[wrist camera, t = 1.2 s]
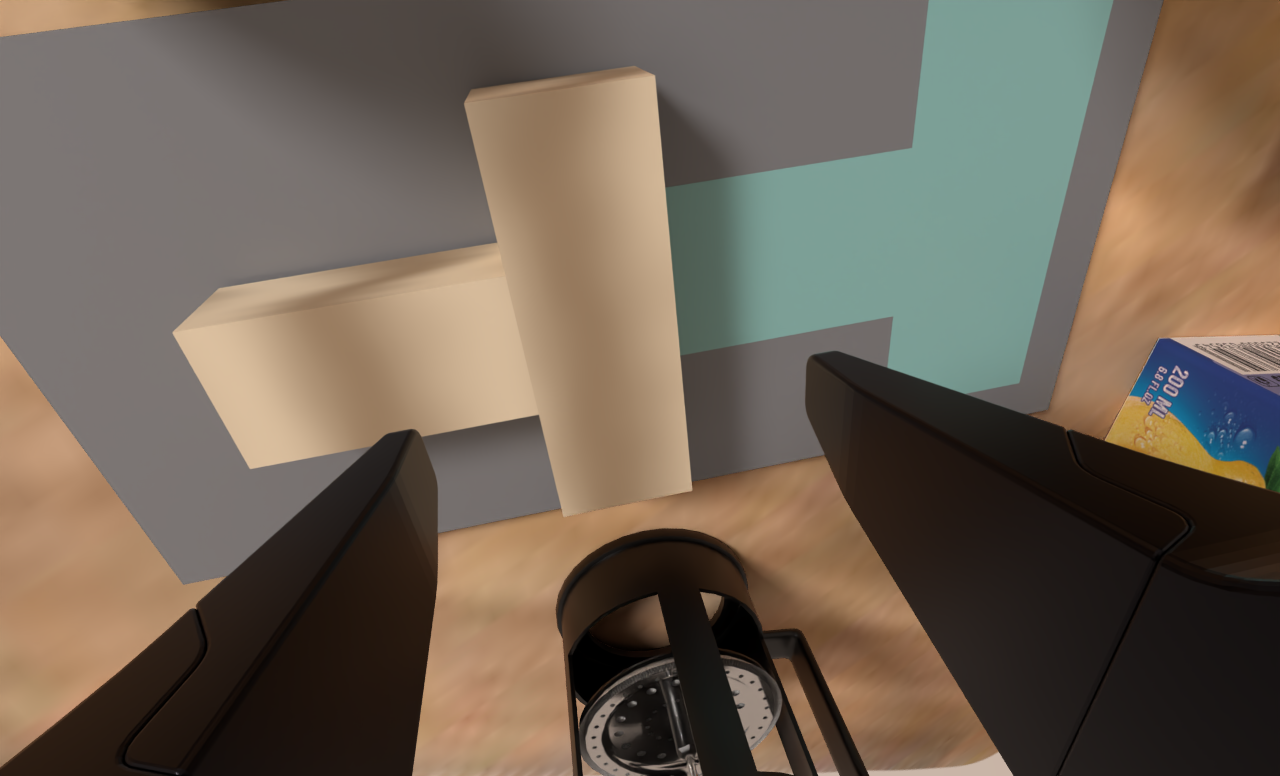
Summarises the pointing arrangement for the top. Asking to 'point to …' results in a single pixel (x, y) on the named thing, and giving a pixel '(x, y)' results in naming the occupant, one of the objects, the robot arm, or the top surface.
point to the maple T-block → (488, 311)
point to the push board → (460, 217)
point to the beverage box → (1208, 407)
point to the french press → (685, 668)
